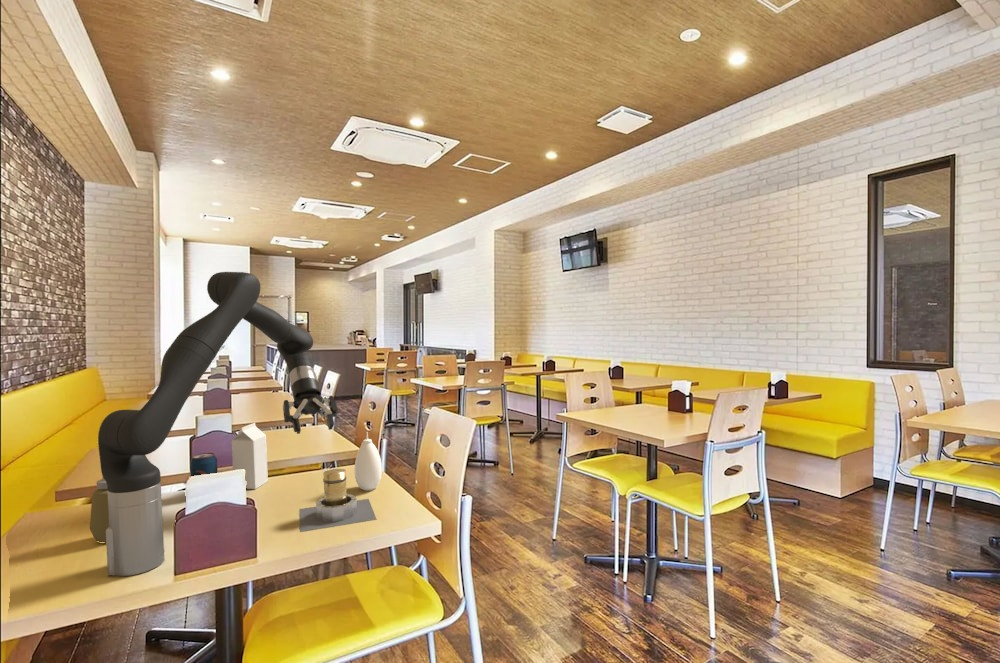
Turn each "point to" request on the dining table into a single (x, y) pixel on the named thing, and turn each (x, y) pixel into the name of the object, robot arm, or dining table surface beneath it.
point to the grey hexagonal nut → (336, 510)
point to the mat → (312, 523)
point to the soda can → (203, 464)
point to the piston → (335, 487)
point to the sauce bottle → (368, 466)
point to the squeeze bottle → (99, 511)
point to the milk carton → (251, 455)
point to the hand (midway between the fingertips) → (315, 430)
